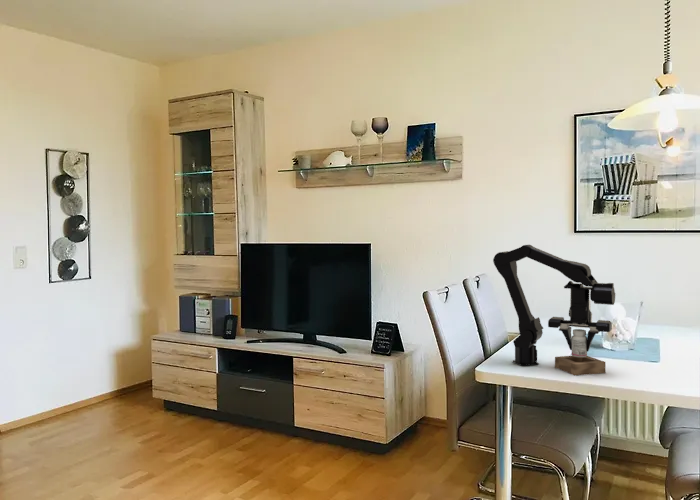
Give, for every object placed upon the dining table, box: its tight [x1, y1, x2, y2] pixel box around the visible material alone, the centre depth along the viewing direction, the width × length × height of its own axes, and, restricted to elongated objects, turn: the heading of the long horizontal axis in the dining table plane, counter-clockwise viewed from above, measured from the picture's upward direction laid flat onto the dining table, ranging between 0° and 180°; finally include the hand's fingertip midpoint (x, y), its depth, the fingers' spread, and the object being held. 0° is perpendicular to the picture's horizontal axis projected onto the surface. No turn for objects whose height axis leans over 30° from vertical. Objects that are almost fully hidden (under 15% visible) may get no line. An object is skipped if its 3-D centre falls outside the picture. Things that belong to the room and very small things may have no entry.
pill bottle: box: [571, 328, 588, 357], centre depth 196 cm, size 5×5×8 cm
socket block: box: [554, 355, 606, 376], centre depth 196 cm, size 11×11×4 cm
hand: (579, 350), depth 196 cm, fingers closed on pill bottle, 5 cm apart
